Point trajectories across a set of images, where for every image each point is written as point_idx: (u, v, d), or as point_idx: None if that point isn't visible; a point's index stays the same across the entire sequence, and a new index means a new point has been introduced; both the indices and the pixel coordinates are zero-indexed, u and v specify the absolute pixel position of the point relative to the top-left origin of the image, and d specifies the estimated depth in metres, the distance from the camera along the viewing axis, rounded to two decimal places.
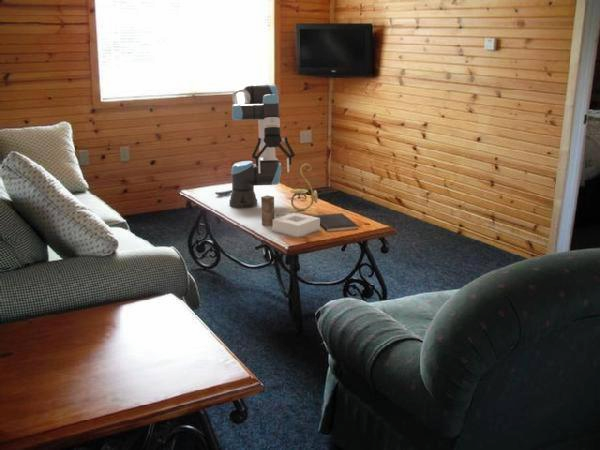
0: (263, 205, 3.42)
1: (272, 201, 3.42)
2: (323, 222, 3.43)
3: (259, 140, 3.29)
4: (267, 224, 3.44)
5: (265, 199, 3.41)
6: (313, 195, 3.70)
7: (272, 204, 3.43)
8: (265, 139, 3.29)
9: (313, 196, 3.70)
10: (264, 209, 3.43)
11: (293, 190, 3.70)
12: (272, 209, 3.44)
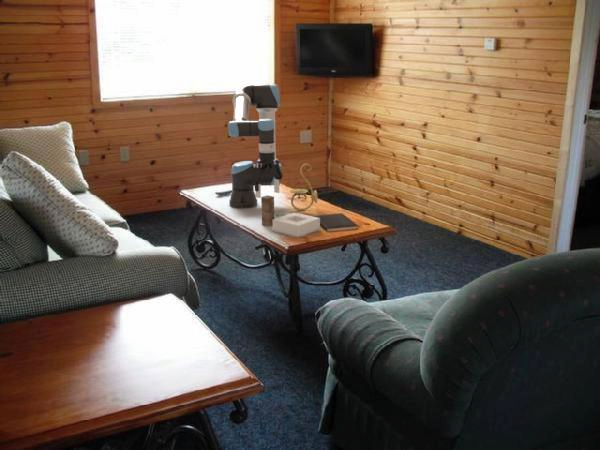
0: (263, 205, 3.42)
1: (272, 201, 3.42)
2: (323, 222, 3.43)
3: (260, 166, 3.32)
4: (267, 224, 3.44)
5: (265, 199, 3.41)
6: (313, 195, 3.70)
7: (272, 204, 3.43)
8: (263, 164, 3.34)
9: (313, 196, 3.70)
10: (264, 209, 3.43)
11: (293, 190, 3.70)
12: (272, 209, 3.44)
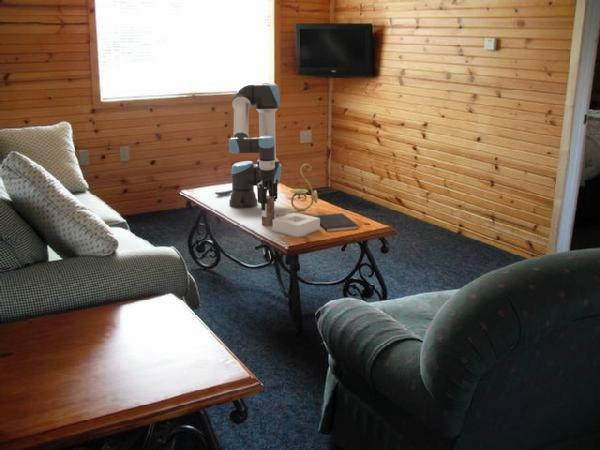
0: None
1: (272, 201, 3.42)
2: (323, 222, 3.43)
3: (261, 186, 3.35)
4: (267, 224, 3.44)
5: None
6: (313, 195, 3.70)
7: (272, 204, 3.43)
8: (264, 182, 3.37)
9: (313, 196, 3.70)
10: None
11: (293, 190, 3.70)
12: (272, 209, 3.44)
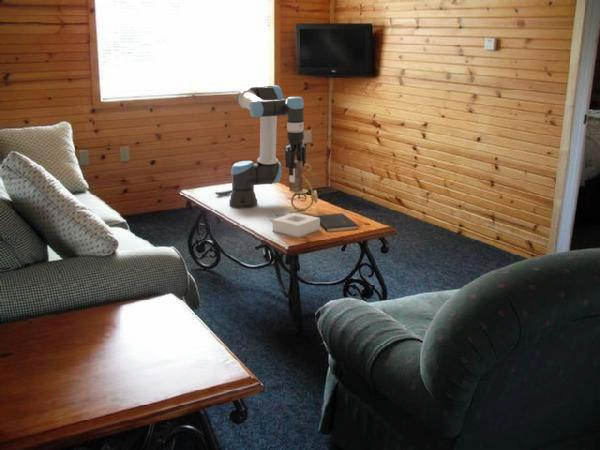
0: None
1: (300, 165, 3.25)
2: (323, 222, 3.43)
3: (289, 149, 3.19)
4: (295, 190, 3.27)
5: None
6: (313, 195, 3.70)
7: (300, 169, 3.26)
8: (292, 145, 3.20)
9: (313, 196, 3.70)
10: None
11: None
12: (301, 175, 3.27)
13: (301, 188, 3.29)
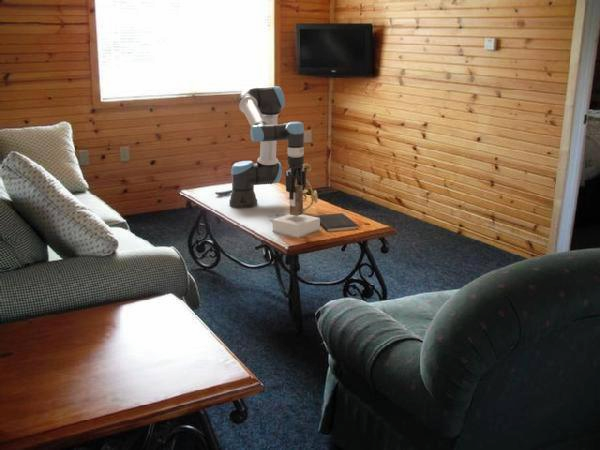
0: None
1: (300, 189, 3.29)
2: (323, 222, 3.43)
3: (290, 174, 3.22)
4: (295, 214, 3.30)
5: None
6: (313, 195, 3.70)
7: (301, 193, 3.29)
8: (292, 169, 3.23)
9: (313, 196, 3.70)
10: None
11: None
12: (301, 198, 3.30)
13: (301, 212, 3.32)
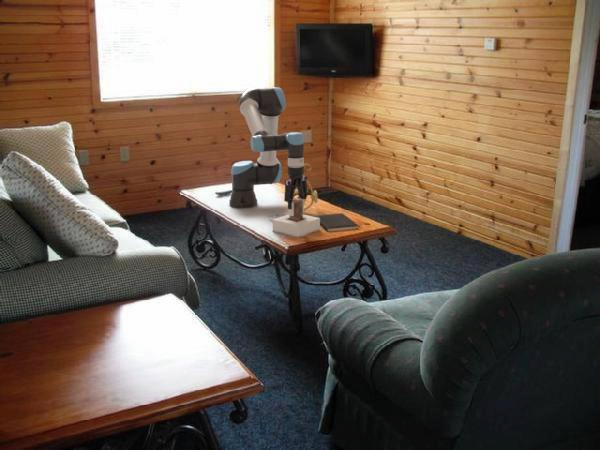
0: None
1: (300, 205, 3.31)
2: (324, 222, 3.43)
3: (289, 183, 3.23)
4: None
5: None
6: (313, 195, 3.70)
7: (301, 208, 3.32)
8: (293, 179, 3.25)
9: (313, 196, 3.70)
10: None
11: None
12: (301, 214, 3.33)
13: None
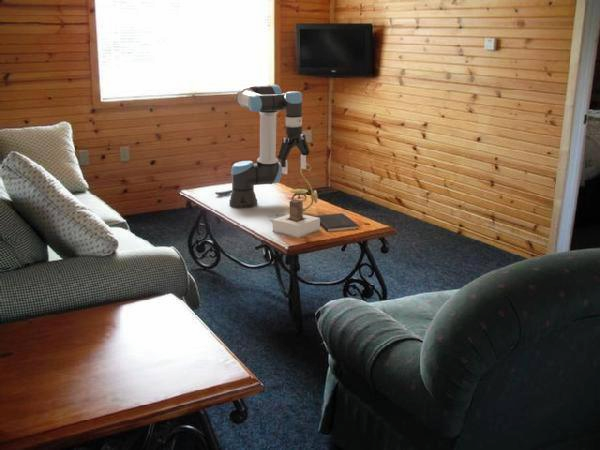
0: (291, 209, 3.31)
1: (300, 205, 3.31)
2: (324, 222, 3.43)
3: (287, 141, 3.19)
4: None
5: (293, 203, 3.29)
6: (313, 195, 3.70)
7: (301, 208, 3.32)
8: (291, 139, 3.21)
9: (313, 196, 3.70)
10: (292, 214, 3.31)
11: (293, 190, 3.70)
12: (301, 214, 3.33)
13: None
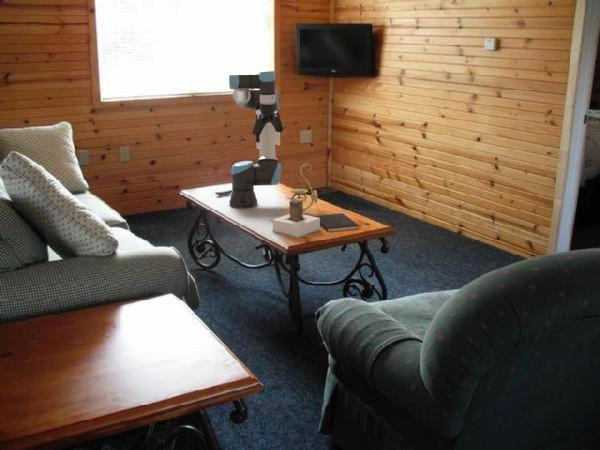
0: (291, 209, 3.31)
1: (300, 205, 3.31)
2: (324, 222, 3.43)
3: (261, 117, 3.36)
4: None
5: (293, 203, 3.29)
6: (313, 195, 3.70)
7: (301, 208, 3.32)
8: (264, 116, 3.38)
9: (313, 196, 3.70)
10: (292, 214, 3.31)
11: (293, 190, 3.70)
12: (301, 214, 3.33)
13: None
